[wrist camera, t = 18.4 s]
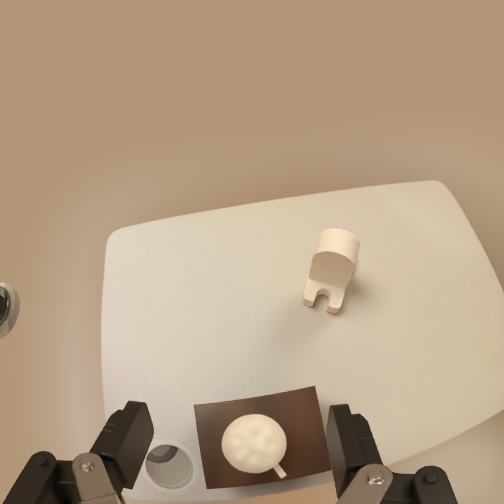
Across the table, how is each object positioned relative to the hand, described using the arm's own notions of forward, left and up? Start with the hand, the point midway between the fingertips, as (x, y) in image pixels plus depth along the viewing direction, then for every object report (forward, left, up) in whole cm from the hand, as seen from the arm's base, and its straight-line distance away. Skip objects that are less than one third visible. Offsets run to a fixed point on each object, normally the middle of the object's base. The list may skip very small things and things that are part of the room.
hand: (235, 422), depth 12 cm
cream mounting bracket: (+19, +12, -27) cm, 35 cm away
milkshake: (0, -2, -18) cm, 18 cm away
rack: (0, -2, -26) cm, 27 cm away
